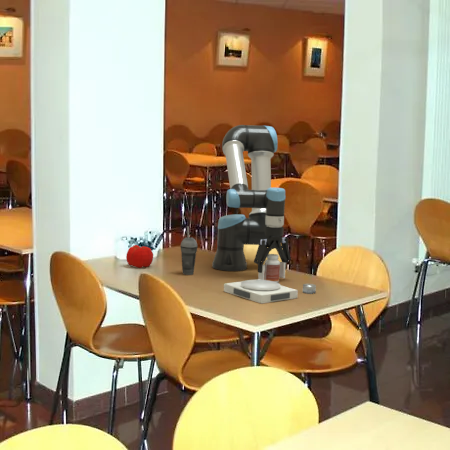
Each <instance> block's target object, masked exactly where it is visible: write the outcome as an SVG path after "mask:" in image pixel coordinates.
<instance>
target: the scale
mask: <svg viewBox="0 0 450 450" xmlns="http://www.w3.org/2000/svg"><path fill="white" fill-rule="evenodd" d="M223 292H225V293H228V294H231V295H234V296H237V297H239V298H243V299H245V300H249V301H252V302H255V303H258V304H262V305H263V304H268V303H274V302H281V301H287V300H294V299H298V295H299V294H298V293H299V290H298V289H294V288H291V287H287V286H284V285H282V284H281V283H280V282H274V281H269V280H261V279H258V278H257V279H247V280H246V279H245V280H242V281H235V282H227V283H224V284H223Z"/></svg>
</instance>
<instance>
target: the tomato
mask: <svg viewBox="0 0 450 450" xmlns="http://www.w3.org/2000/svg"><path fill="white" fill-rule="evenodd" d="M125 257H126V259H125V260H126V263H127V264H128V265H129V266H130V267H135V268H138V269H141V268H148V267H150V266H151V264H153V261H154V253H153V250H152V249H151V248H150V247H148V246H143V245H142V246H140V245H137V244H134V245H132V246H130V247H129V248H128V250H127V253H126V256H125Z"/></svg>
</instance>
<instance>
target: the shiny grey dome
mask: <svg viewBox="0 0 450 450" xmlns="http://www.w3.org/2000/svg"><path fill="white" fill-rule="evenodd" d="M316 288H317V286H316V284H314V283H303V284H302V293H303V294H307V295H311V294H312V295H314V294H316V292H317V289H316ZM313 293H314V294H313Z"/></svg>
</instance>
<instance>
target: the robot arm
mask: <svg viewBox="0 0 450 450" xmlns="http://www.w3.org/2000/svg"><path fill="white" fill-rule="evenodd" d="M221 144H222V145H221V148H222V152H223V154H224V155H225V162H226V167H227V175H228V181H229V188H230V189H227V191H226V205H227V207H229V208H235V209H237V208H238V209H241V208H244V209H245V208H246V209H248V208H249V209H251V211H250V213H249V214H248V217H246V215H245V214H243V213H241V214H240V213H239V214H238V213H236V214H227V215H224V216H220V218H219V219H218V222H217V223H218V224H217V243H216V252H215V253H214V254H215V255H214V257H213V261H212V264H211V265H212V268H213V269H215V270H219V271H228V272H238V271H239V272H240V271H245V270H247V268H248V267H247V266H248V262H247V259H246V255H245V250H244V248H245V245H247V246H251V245H253V246H254V245H255V246H258V247H257V250H256V254H255V256H254V261H253V263H254V264H257V274H258V278H257V279H261V280H264V271H265V261H266V260H267V259H268V258H267V256H268V254H270V252H272V250H274V249H276V251H277V253H278V254H277V255H279V259H280V261H279V262H280V272H279V279H280V278H281V279H286V270H287V263H288V264H289V261H291V254H290V248H289V238H288V237H284V230H285V229H284V225H285V209H286V208H285V204H286V198H287V197H286V189H285V188H282V187H272V174H271V173H272V172H271V169H272V168H271V166H272V165H271V159H273V157H274V155H275V154H274V153H276V152H277V151H278V135H277V131H276V130H275V128H274V127H273V126H269V125H250V124H238V125H235V126H233V127H232V128H230V129H229V130H227V132H226V133H225V136H224V137H223V138H222V143H221ZM244 152H247V156H248V158H249V159H250V160H251V164H250V165H251V189H249V184H248V178H247V172H246V166H245V165H246V164H245V160H244Z"/></svg>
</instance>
